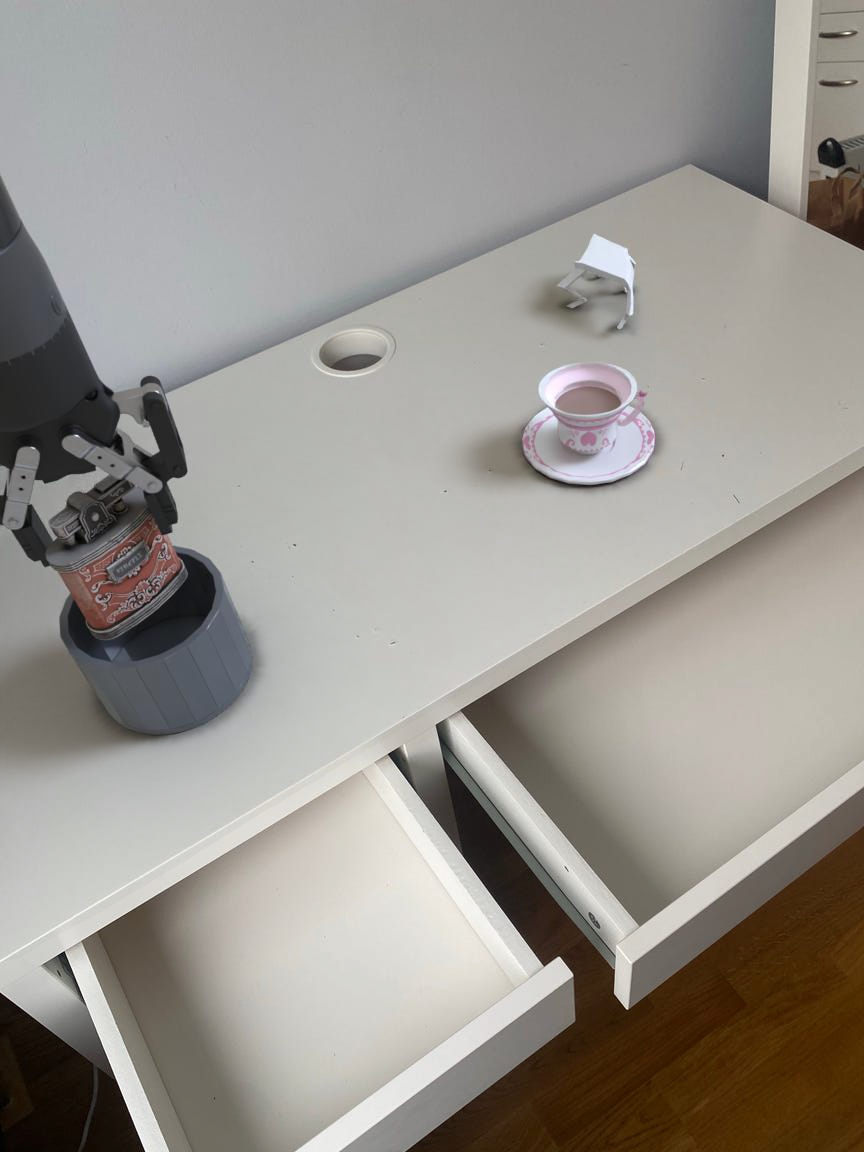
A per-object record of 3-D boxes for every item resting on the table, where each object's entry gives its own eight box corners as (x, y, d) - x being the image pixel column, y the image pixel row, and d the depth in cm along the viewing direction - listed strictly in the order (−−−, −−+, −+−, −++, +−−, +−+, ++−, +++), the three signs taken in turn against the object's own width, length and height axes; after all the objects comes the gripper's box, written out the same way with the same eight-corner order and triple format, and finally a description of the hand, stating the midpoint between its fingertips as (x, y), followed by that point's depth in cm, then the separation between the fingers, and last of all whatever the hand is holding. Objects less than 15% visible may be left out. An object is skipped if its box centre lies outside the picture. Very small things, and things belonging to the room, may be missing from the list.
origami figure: (541, 294, 105) (540, 251, 101) (605, 268, 107) (606, 225, 103) (607, 346, 98) (608, 301, 94) (674, 317, 100) (677, 272, 96)
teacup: (521, 490, 85) (518, 433, 80) (522, 405, 93) (519, 348, 88) (660, 484, 84) (665, 427, 79) (649, 399, 92) (653, 341, 87)
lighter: (110, 648, 66) (49, 544, 58) (79, 626, 68) (15, 522, 60) (198, 575, 70) (151, 468, 62) (167, 556, 71) (117, 450, 64)
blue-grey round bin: (107, 754, 71) (62, 688, 65) (98, 639, 78) (56, 570, 72) (263, 707, 72) (234, 639, 66) (240, 599, 79) (211, 528, 73)
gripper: (122, 256, 55) (208, 478, 68) (-141, 316, 53) (-1, 534, 66) (133, 325, 50) (223, 550, 63) (-155, 394, 48) (-2, 612, 61)
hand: (108, 541), depth 64 cm, fingers closed on lighter, 7 cm apart
